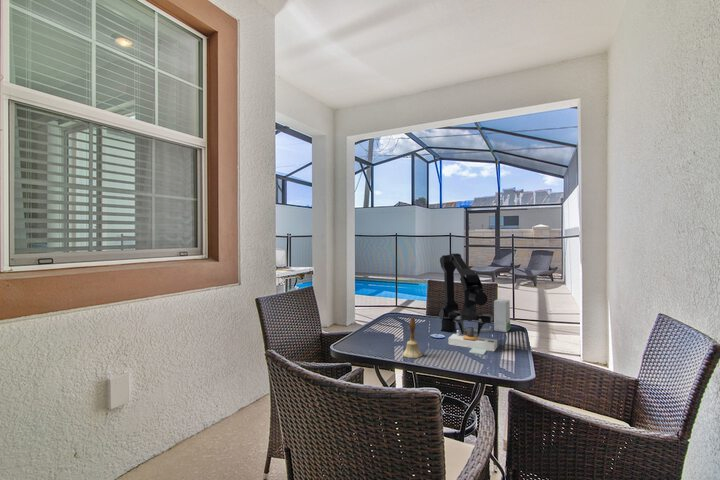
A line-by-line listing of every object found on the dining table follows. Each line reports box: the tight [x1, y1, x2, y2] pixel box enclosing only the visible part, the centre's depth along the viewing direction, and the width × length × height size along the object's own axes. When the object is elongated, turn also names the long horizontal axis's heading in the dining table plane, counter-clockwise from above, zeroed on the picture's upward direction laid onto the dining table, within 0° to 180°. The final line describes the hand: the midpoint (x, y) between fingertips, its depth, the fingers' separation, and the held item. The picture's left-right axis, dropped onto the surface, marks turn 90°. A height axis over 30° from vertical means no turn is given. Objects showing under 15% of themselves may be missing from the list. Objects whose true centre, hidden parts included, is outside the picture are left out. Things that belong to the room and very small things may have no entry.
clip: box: [456, 325, 493, 334], centre depth 166 cm, size 17×2×2 cm, turn 96°
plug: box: [462, 326, 479, 341], centre depth 160 cm, size 6×6×8 cm
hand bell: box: [402, 316, 423, 359], centre depth 148 cm, size 8×8×16 cm
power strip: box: [448, 332, 498, 352], centre depth 160 cm, size 20×8×4 cm, turn 59°
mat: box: [468, 348, 488, 356], centre depth 151 cm, size 6×6×1 cm
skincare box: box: [493, 298, 511, 333], centre depth 185 cm, size 8×7×16 cm
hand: (470, 335), depth 160 cm, fingers open, 7 cm apart
